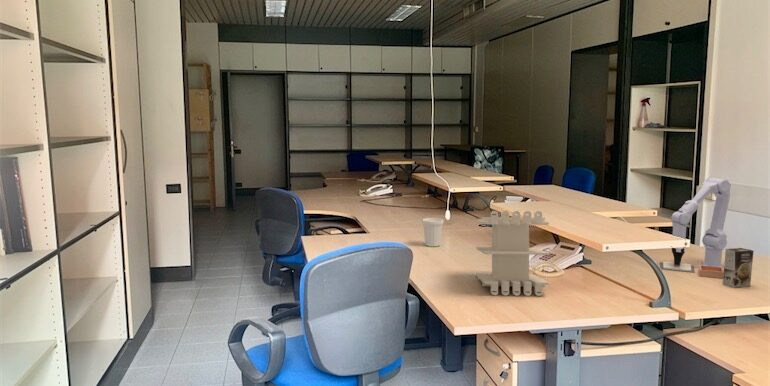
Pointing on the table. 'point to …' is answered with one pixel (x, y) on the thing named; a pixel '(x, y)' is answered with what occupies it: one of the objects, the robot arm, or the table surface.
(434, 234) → the cup
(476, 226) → the table surface
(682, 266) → the lid
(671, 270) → the mat
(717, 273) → the open box
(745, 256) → the coffee box
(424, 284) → the table surface
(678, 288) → the table surface
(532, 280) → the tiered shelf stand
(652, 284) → the table surface
